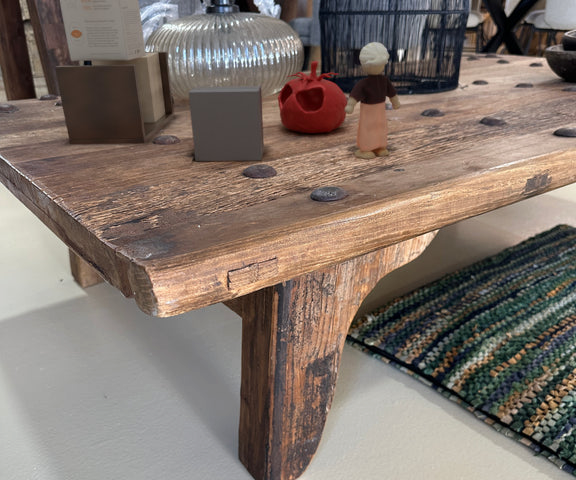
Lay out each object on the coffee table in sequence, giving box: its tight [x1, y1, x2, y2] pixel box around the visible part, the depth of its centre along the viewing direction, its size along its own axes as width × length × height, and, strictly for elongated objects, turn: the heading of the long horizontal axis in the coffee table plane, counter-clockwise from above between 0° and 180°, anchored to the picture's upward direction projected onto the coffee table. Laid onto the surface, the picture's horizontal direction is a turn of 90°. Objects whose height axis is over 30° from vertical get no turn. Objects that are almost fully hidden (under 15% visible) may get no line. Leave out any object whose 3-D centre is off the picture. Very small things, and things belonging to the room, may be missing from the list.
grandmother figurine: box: [345, 41, 402, 160], centre depth 66 cm, size 8×4×13 cm, turn 131°
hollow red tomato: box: [277, 60, 348, 134], centre depth 81 cm, size 10×10×9 cm
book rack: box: [54, 51, 175, 145], centre depth 81 cm, size 10×18×10 cm, turn 178°
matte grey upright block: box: [188, 85, 265, 162], centre depth 68 cm, size 8×4×8 cm, turn 88°
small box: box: [59, 0, 146, 62], centre depth 73 cm, size 8×6×13 cm
